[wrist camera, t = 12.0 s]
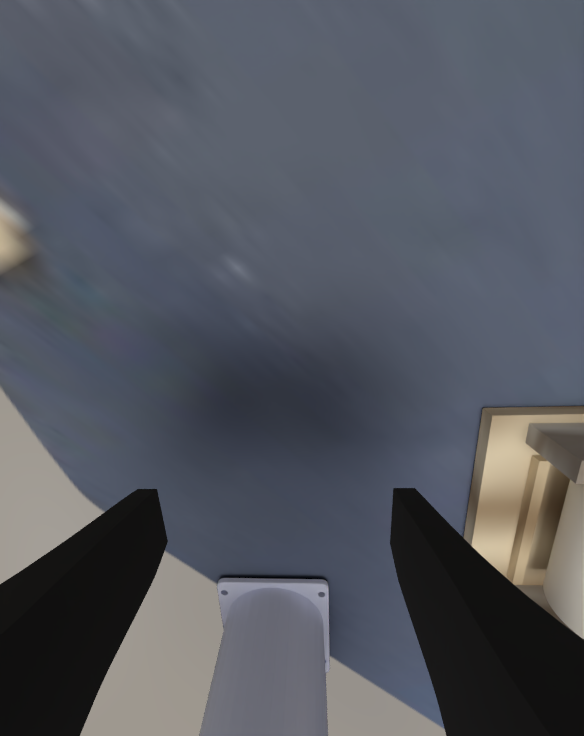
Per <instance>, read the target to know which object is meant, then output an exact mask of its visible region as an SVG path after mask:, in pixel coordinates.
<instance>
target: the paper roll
mask: <svg viewBox="0 0 584 736" xmlns="http://www.w3.org/2000/svg"><path fill="white" fill-rule="evenodd" d="M543 590H544V594H545V597H546V599H547V601H548V603H549V605H550V606H551V608H552V609H553V611H554V612H555V613H556V615H557V616H558V617H559V618H560V619H561V620H562V621H563V622H564V623H565V624H566V625H567V626H568V627H569V628H570V629H571V630H572V631H574V632H575V633H576V634H577V635H579V636H580V637H581V638H583V639H584V484H575V483H574V482H573V481H572V480H571V479H570V482H569V485H568V489H567V493H566V497H565V501H564V505H563V509H562V512H561V516H560V520H559V524H558V528H557V532H556V535H555V539H554V543H553V547H552V551H551V555H550V559H549V562H548V566H547V570H546V574H545V578H544V582H543Z"/></svg>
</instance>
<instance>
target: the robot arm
mask: <svg viewBox="0 0 584 736" xmlns="http://www.w3.org/2000/svg"><path fill="white" fill-rule="evenodd" d="M167 542H168V540H167V536H166V531H165V526H164V521H163V516H162V512H161V507H160V502H159V497H158V492H157V489H137V490H136V491H134V492H133V493H131V494H130V495H128V496H127V497H125V498H124V499H123V500H121V501H120V502H118V503H117V504H116V505H114V506H113V507H111V508H110V509H109V510H107V511H106V512H105V513H103V514H102V515H101V516H99V517H98V518H96V519H95V520H94V521H92V522H91V523H90V524H88V525H87V526H86V527H84V528H83V529H81V530H80V531H79V532H77V533H76V534H74V535H73V536H72V537H70V538H69V539H67V540H66V541H65V542H63V543H62V544H60V545H59V546H57V547H56V548H54V549H53V550H51V551H50V552H48V553H47V554H46V555H44V556H42V557H41V558H40V559H38V560H37V561H35V562H34V563H32V564H31V565H29V566H28V567H26V568H25V569H23V570H22V571H20V572H19V573H17V574H16V575H14V576H13V577H11V578H10V579H8V580H6V581H5V582H3V583H2V584H0V736H80V733H81V731H82V729H83V726H84V724H85V721H86V719H87V717H88V714H89V712H90V710H91V707H92V705H93V702H94V700H95V697H96V695H97V693H98V690H99V688H100V686H101V684H102V682H103V680H104V677H105V675H106V673H107V671H108V669H109V667H110V665H111V663H112V661H113V659H114V657H115V655H116V653H117V651H118V649H119V647H120V645H121V643H122V641H123V639H124V637H125V635H126V633H127V631H128V629H129V627H130V625H131V623H132V621H133V620H134V617H135V616H136V613H137V612H138V610H139V608H140V606H141V604H142V602H143V599H144V598H145V595H146V594H147V592H148V589H149V588H150V586H151V583H152V581H153V579H154V577H155V575H156V572H157V569H158V567H159V564H160V562H161V559H162V556H163V553H164V550H165V548H166V545H167ZM390 545H391V549H392V554H393V559H394V563H395V568H396V572H397V576H398V581H399V584H400V587H401V590H402V593H403V596H404V599H405V602H406V605H407V608H408V611H409V614H410V617H411V620H412V623H413V626H414V629H415V632H416V635H417V638H418V641H419V644H420V647H421V650H422V653H423V656H424V659H425V662H426V665H427V668H428V671H429V674H430V677H431V681H432V684H433V687H434V691H435V694H436V697H437V701H438V704H439V708H440V712H441V716H442V720H443V724H444V728H445V731H446V735H447V736H584V640H583V639H582V638H581V637H579V636H578V635H577V634H575V633H574V632H573V631H571V630H570V629H569V628H567V627H566V626H565V625H563V624H562V623H561V622H560V621H558V620H557V619H556V618H555V617H553V616H552V615H551V614H550V613H548V612H547V611H546V610H544V609H543V608H542V607H541V606H539V605H538V604H537V603H536V602H534V601H533V600H532V599H531V598H529V597H528V596H527V595H526V594H525V593H523V592H522V591H521V590H520V589H519V588H517V587H516V586H515V585H514V584H513V583H512V582H510V581H509V580H508V579H507V578H506V577H505V576H504V575H503V574H501V573H500V572H499V571H498V570H497V569H496V568H495V567H494V566H492V565H491V564H490V563H489V562H488V561H487V560H486V559H485V558H484V557H483V556H482V555H480V554H479V553H478V552H477V551H476V550H475V549H474V548H473V547H472V546H471V545H470V544H469V543H468V542H467V541H466V540H465V539H464V538H463V537H462V536H461V535H460V534H459V533H458V532H457V531H456V530H455V529H454V528H453V527H452V526H451V525H450V524H449V523H448V522H447V521H446V520H445V519H444V518H443V517H442V516H441V515H440V514H439V513H438V512H437V511H436V510H435V509H434V508H433V507H432V506H431V505H430V503H429V502H428V501H427V500H426V499H425V498H424V497H423V496H422V495H421V494H420V493H419V492H418V491H417V490H416V489H415V488H394V489H393V505H392V521H391V538H390ZM217 590H218V596H219V602H220V609H221V616H222V621H223V628H224V632H223V636H222V640H221V645H220V649H219V653H218V658H217V662H216V666H215V670H214V675H213V679H212V683H211V687H210V692H209V696H208V701H207V704H206V709H205V713H204V717H203V721H202V726H201V730H200V734H199V736H328V724H327V723H328V721H327V696H326V673H327V672H328V671H329V669H330V660H329V659H330V658H329V588H328V583H327V581H325V580H323V579H269V578H221V579H220V580H219V581H218V584H217Z"/></svg>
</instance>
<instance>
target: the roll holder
mask: <svg viewBox="0 0 584 736" xmlns="http://www.w3.org/2000/svg"><path fill="white" fill-rule="evenodd" d="M570 479H571V480H572V481H573V482H574V483H575V484H584V406H560V407H506V408H483V410H482V417H481V424H480V430H479V437H478V444H477V450H476V457H475V464H474V471H473V477H472V484H471V491H470V497H469V504H468V511H467V517H466V524H465V531H464V537H463V538H464V539H465V540H466V541H467V542H468V543H469V544H470V545H471V546H472V547H473V548H474V549H475V550H476V551H477V552H478V553H479V554H480V555H482V556H483V557H484V558H485V559H486V560H487V561H488V562H489V563H490V564H491V565H492V566H494V567H495V568H496V569H497V570H498V571H499V572H500V573H501V574H503V575H504V576H505V577H506V578H507V579H508V580H509V581H510V582H512V583H513V584H514V585H515V586H516V587H517V588H519V589H520V590H521V591H522V592H523V593H525V594H526V595H527V596H528V597H529V598H531V599H532V600H533V601H534V602H536V603H537V604H538V605H539V606H541V607H542V608H543V609H544V610H546V611H547V612H548V613H550V614H551V615H552V616H553V617H555V618H556V619H557V620H558V621H560V622H561V623H562V624H563V625H565V626H566V627H567V628H569V627H568V626H567V625H566V624H565V623H564V622H563V621H562V620H561V619H560V618H559V617H558V616H557V615H556V613H555V612H554V611H553V609H552V608H551V606H550V605H549V603H548V601H547V599H546V597H545V594H544V590H543V582H544V578H545V574H546V570H547V566H548V562H549V559H550V555H551V551H552V547H553V543H554V539H555V535H556V532H557V528H558V524H559V520H560V516H561V512H562V509H563V505H564V501H565V497H566V493H567V489H568V485H569V482H570ZM569 629H570V628H569ZM570 630H571V629H570ZM571 631H572V630H571ZM573 632H574V631H573ZM574 633H575V632H574ZM575 634H576V633H575ZM578 636H579V635H578ZM579 637H580V636H579ZM582 639H583V638H582ZM583 640H584V639H583Z"/></svg>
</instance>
